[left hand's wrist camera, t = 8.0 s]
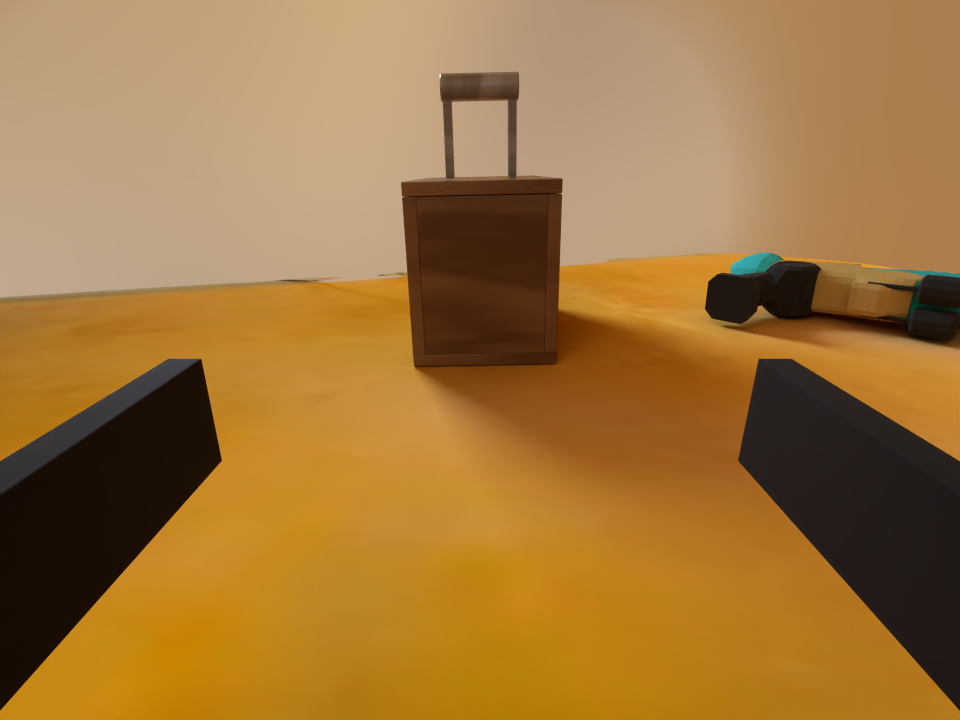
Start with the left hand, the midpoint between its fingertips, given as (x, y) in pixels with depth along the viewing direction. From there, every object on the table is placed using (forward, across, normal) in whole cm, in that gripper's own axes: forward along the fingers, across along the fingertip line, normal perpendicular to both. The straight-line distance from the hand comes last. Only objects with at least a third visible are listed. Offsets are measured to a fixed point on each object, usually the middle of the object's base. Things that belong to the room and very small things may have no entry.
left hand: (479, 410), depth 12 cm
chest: (+29, 0, -7) cm, 30 cm away
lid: (+30, 0, +4) cm, 30 cm away
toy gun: (+28, +30, -6) cm, 41 cm away
